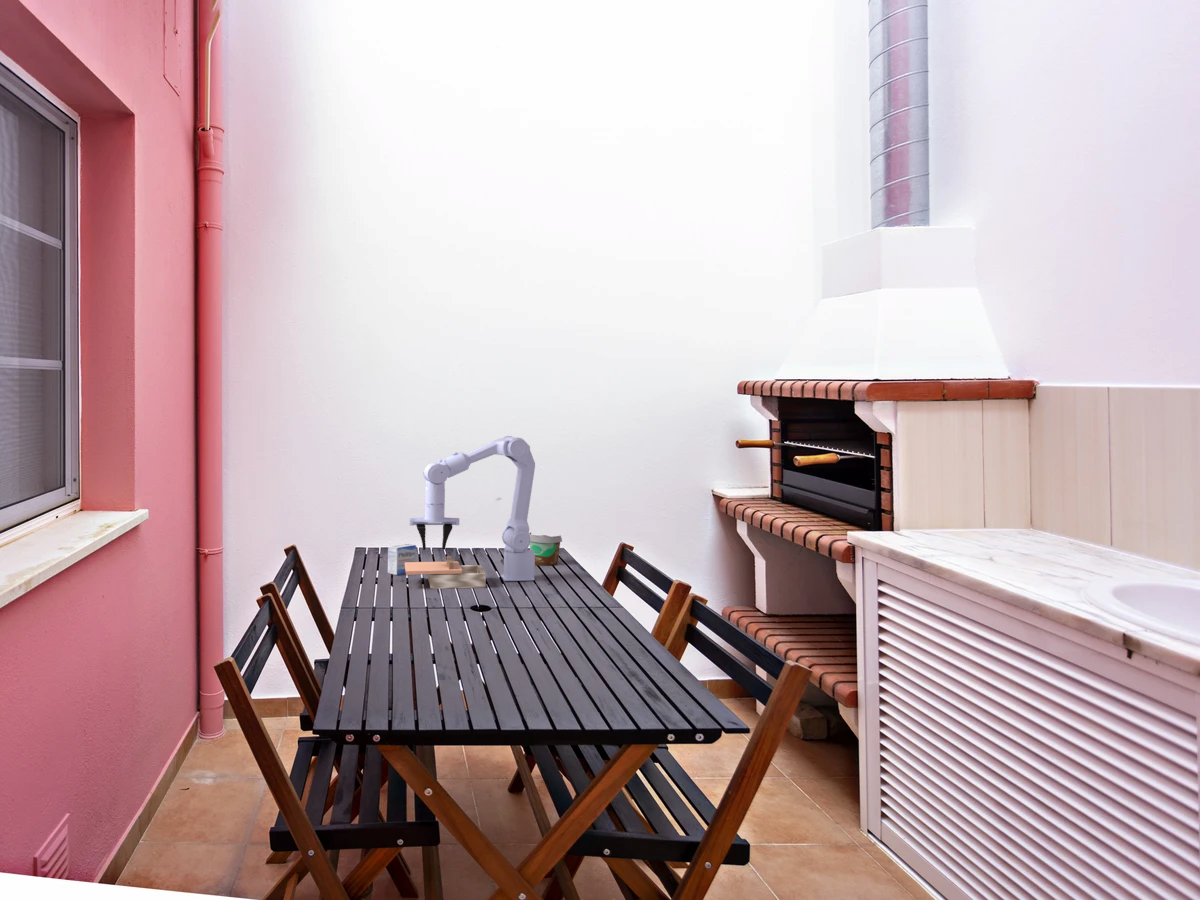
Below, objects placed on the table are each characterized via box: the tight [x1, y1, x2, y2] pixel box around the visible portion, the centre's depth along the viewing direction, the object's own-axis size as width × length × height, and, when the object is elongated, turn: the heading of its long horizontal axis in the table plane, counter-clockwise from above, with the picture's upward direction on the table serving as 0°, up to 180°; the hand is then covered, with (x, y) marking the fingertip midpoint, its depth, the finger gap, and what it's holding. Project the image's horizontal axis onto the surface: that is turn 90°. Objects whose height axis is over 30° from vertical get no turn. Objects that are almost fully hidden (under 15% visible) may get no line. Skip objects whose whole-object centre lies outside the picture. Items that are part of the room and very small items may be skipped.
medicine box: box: [387, 543, 417, 576], centre depth 275 cm, size 8×4×9 cm, turn 143°
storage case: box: [427, 564, 487, 590], centre depth 263 cm, size 16×13×4 cm
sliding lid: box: [405, 555, 462, 576], centre depth 262 cm, size 16×13×3 cm
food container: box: [529, 531, 563, 567], centre depth 295 cm, size 12×6×10 cm, turn 68°
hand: (433, 549), depth 261 cm, fingers open, 5 cm apart
